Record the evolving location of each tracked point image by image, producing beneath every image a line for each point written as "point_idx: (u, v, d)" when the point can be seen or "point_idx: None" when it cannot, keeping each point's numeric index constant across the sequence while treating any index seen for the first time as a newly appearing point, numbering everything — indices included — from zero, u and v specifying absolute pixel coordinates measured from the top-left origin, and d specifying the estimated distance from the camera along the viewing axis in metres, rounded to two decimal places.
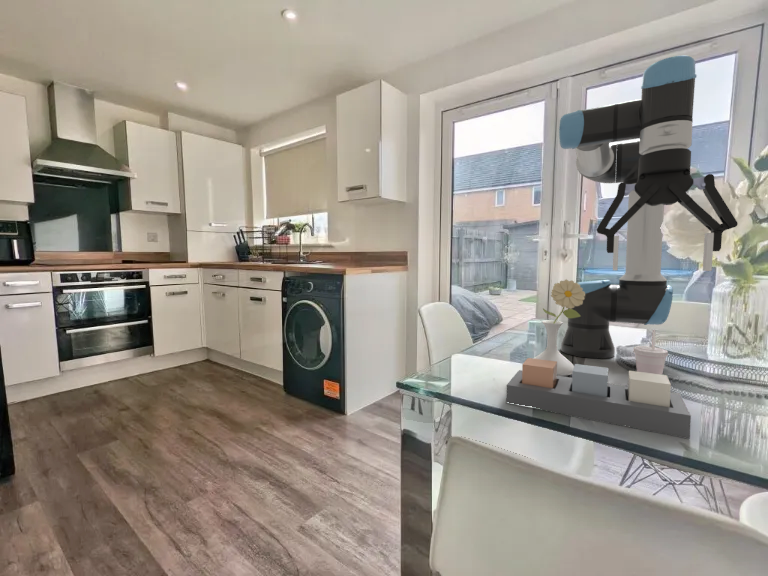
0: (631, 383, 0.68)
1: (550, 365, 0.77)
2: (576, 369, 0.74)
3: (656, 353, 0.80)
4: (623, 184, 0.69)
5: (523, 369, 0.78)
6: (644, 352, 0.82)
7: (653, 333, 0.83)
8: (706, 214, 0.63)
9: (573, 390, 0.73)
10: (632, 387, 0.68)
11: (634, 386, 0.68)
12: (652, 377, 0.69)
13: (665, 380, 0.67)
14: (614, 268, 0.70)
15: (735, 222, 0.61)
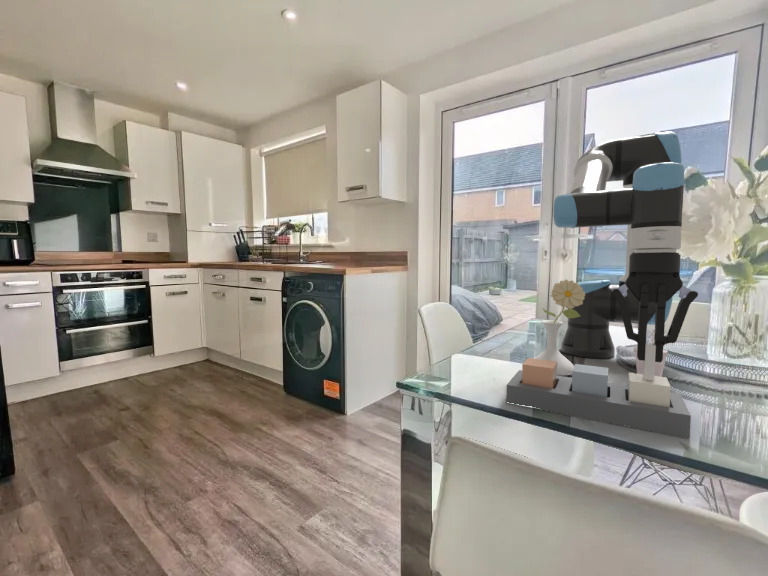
0: (631, 385, 0.68)
1: (550, 365, 0.77)
2: (576, 369, 0.74)
3: None
4: (615, 290, 0.70)
5: (523, 369, 0.78)
6: None
7: (653, 333, 0.83)
8: (662, 326, 0.66)
9: (573, 390, 0.73)
10: (632, 389, 0.68)
11: (634, 389, 0.68)
12: None
13: (665, 382, 0.67)
14: (646, 377, 0.68)
15: (675, 340, 0.66)
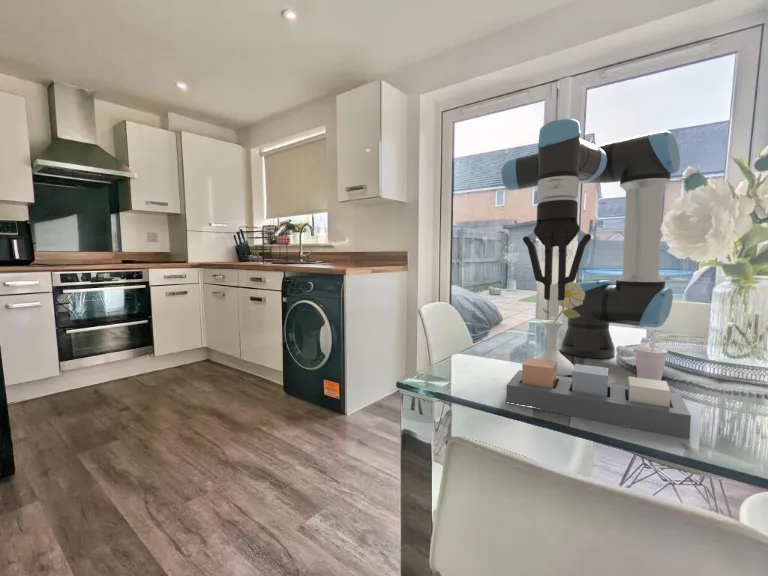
0: (631, 389, 0.68)
1: (550, 365, 0.77)
2: (576, 369, 0.74)
3: (656, 353, 0.80)
4: (525, 237, 0.77)
5: (523, 369, 0.78)
6: (644, 352, 0.82)
7: (653, 333, 0.83)
8: (563, 267, 0.74)
9: (573, 390, 0.73)
10: (632, 393, 0.68)
11: (634, 393, 0.68)
12: (652, 383, 0.69)
13: (665, 386, 0.67)
14: (550, 314, 0.76)
15: (573, 279, 0.73)
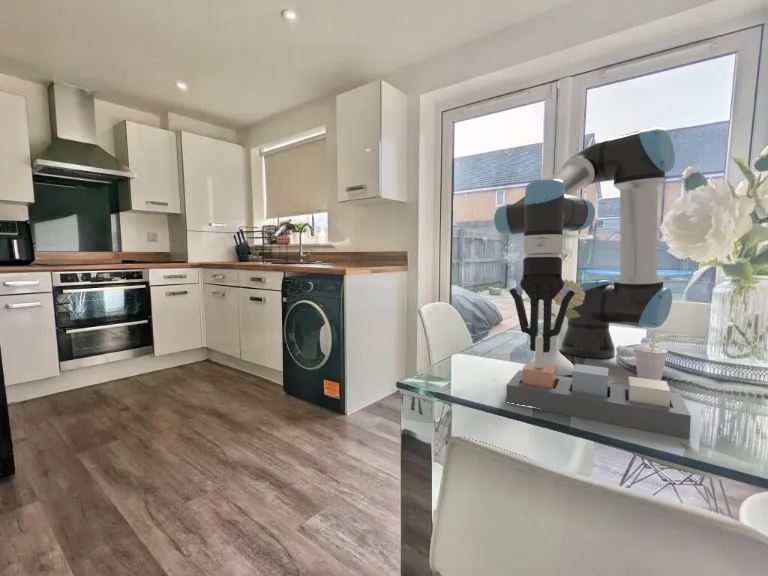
0: (631, 389, 0.68)
1: (550, 370, 0.77)
2: (576, 369, 0.74)
3: (656, 353, 0.80)
4: (512, 290, 0.80)
5: (523, 374, 0.78)
6: (644, 352, 0.82)
7: (653, 333, 0.83)
8: (548, 321, 0.76)
9: (573, 390, 0.73)
10: (632, 393, 0.68)
11: (634, 393, 0.68)
12: (652, 383, 0.69)
13: (665, 386, 0.67)
14: (536, 365, 0.78)
15: (557, 333, 0.76)
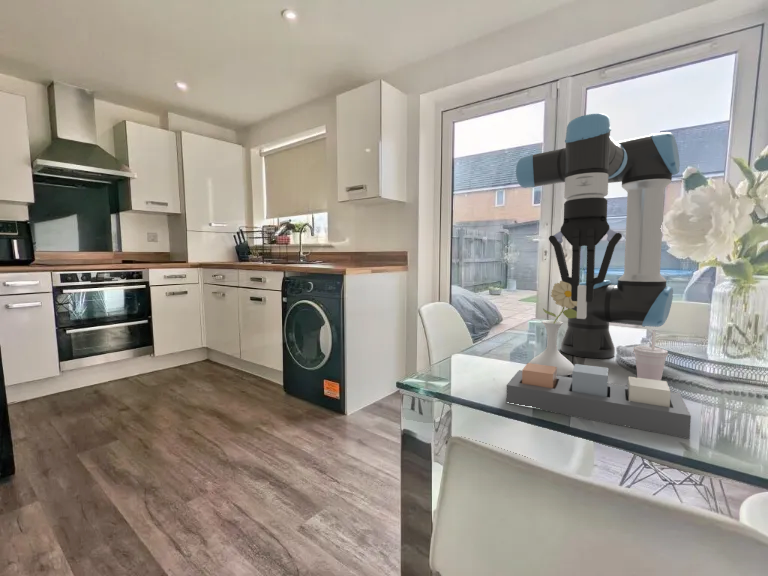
0: (631, 389, 0.68)
1: (550, 371, 0.77)
2: (576, 369, 0.74)
3: (656, 353, 0.80)
4: (551, 237, 0.75)
5: (523, 374, 0.78)
6: (644, 352, 0.82)
7: (653, 333, 0.83)
8: (592, 267, 0.72)
9: (573, 390, 0.73)
10: (632, 393, 0.68)
11: (634, 393, 0.68)
12: (652, 383, 0.69)
13: (665, 386, 0.67)
14: (578, 316, 0.73)
15: (602, 279, 0.71)
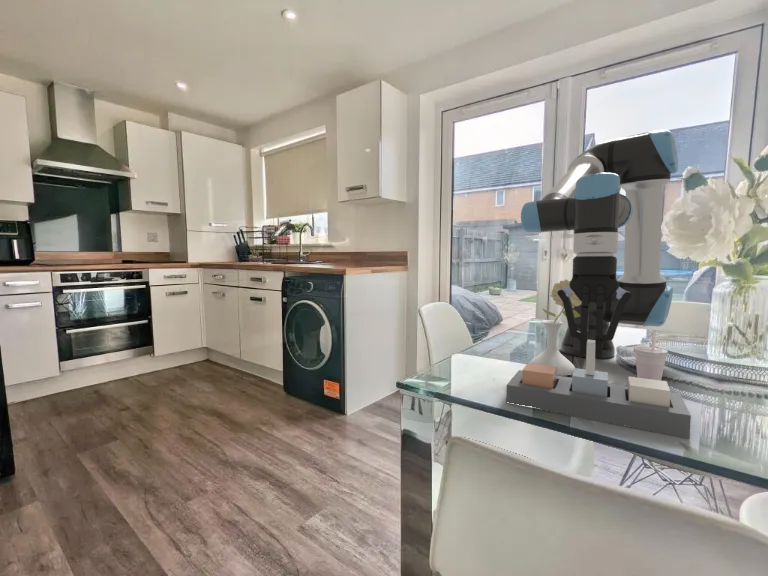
0: (631, 389, 0.68)
1: (550, 371, 0.77)
2: (576, 374, 0.74)
3: (656, 353, 0.80)
4: (560, 291, 0.75)
5: (523, 374, 0.78)
6: (644, 352, 0.82)
7: (653, 333, 0.83)
8: (601, 324, 0.71)
9: None
10: (632, 393, 0.68)
11: (634, 393, 0.68)
12: (652, 383, 0.69)
13: (665, 386, 0.67)
14: (587, 372, 0.73)
15: (612, 337, 0.71)
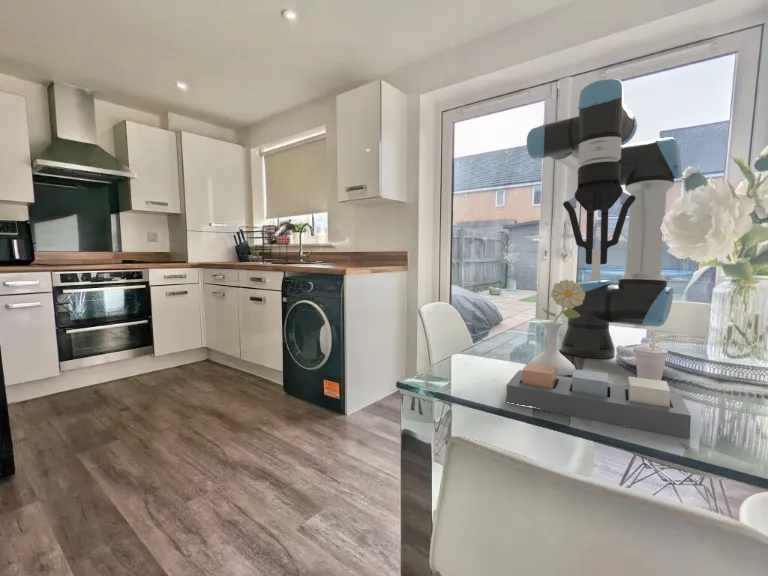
0: (631, 389, 0.68)
1: (550, 371, 0.77)
2: (576, 375, 0.74)
3: (656, 353, 0.80)
4: (566, 202, 0.77)
5: (523, 374, 0.78)
6: (644, 352, 0.82)
7: (653, 333, 0.83)
8: (606, 230, 0.74)
9: None
10: (632, 393, 0.68)
11: (634, 393, 0.68)
12: (652, 383, 0.69)
13: (665, 386, 0.67)
14: (592, 279, 0.76)
15: (616, 241, 0.73)
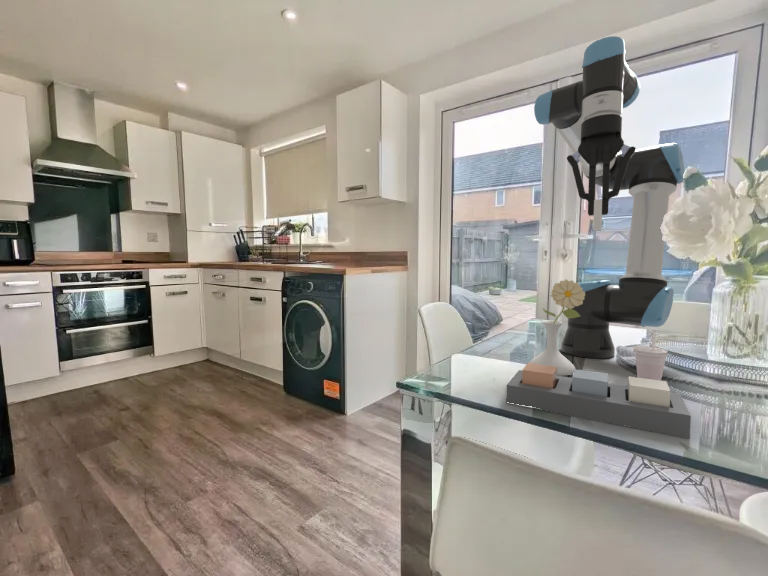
0: (631, 389, 0.68)
1: (550, 371, 0.77)
2: (576, 375, 0.74)
3: (656, 353, 0.80)
4: (569, 156, 0.81)
5: (523, 374, 0.78)
6: (644, 352, 0.82)
7: (653, 333, 0.83)
8: (607, 181, 0.78)
9: None
10: (632, 393, 0.68)
11: (634, 393, 0.68)
12: (652, 383, 0.69)
13: (665, 386, 0.67)
14: (594, 228, 0.79)
15: (617, 191, 0.77)
